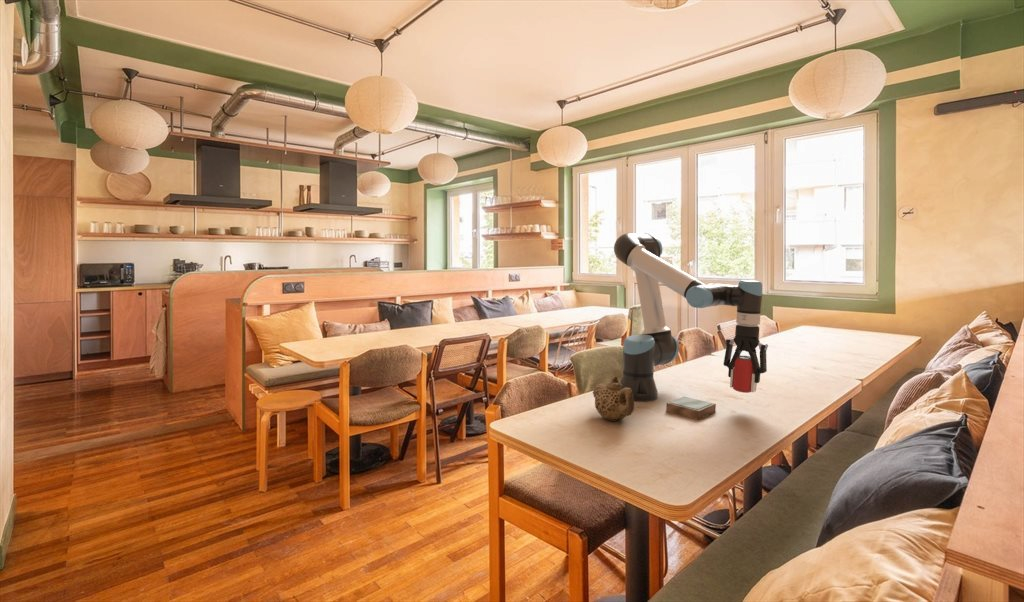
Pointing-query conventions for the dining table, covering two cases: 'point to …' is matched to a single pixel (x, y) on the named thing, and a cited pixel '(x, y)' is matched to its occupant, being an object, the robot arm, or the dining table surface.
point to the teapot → (613, 400)
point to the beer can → (743, 374)
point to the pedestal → (691, 407)
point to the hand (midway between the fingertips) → (742, 388)
